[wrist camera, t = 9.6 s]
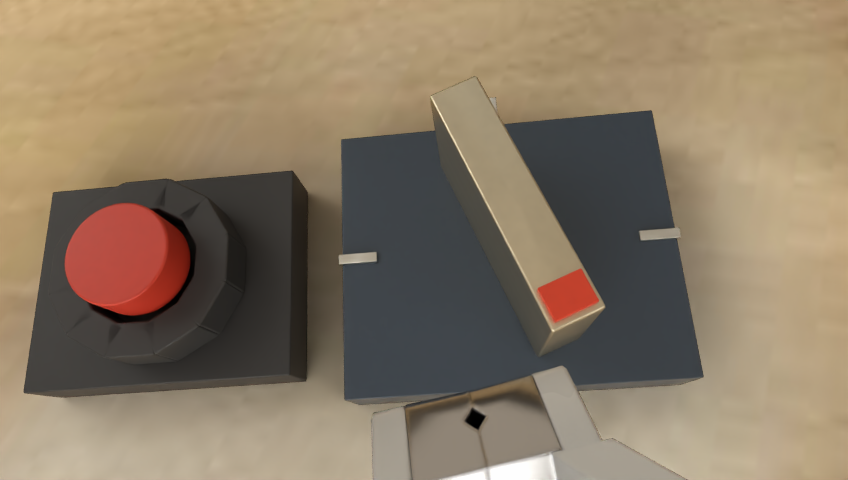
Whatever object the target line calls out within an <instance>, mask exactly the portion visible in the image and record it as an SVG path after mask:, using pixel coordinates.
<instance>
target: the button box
mask: <svg viewBox="0 0 848 480" xmlns="http://www.w3.org/2000/svg"><path fill="white" fill-rule="evenodd" d="M119 203H135V204H139V205H143V206H145V207H147V208H149V209H151V210H152V211H154V212H155V213H157V214H158V215H160V216H161V217H162V218H164V219H165V220H167V221H168V222H169V223H171V224H172V225H174V226H175V227H176V228H177V229H179V231H180V232H181V233H182V234H183V235H184V237H185V239H186V241H187V243H188V246H189V249H190V269H189V273H188V276H187V279H186V281H185V283H184V285H183V287H182V288H181V290H180V291H179V293H178V294H177V295H176V296H175V297H174V298H173V299H172V300H171V301H170V302H169V303H168V304H166V305H165V306H163V307H162V308H160V309H158V310H156V311H154V312H151V313H148V314H144V315H138V316H129V315H123V314H119V313H116V312H113V311H111V310H108V309H105V308H102V307H100V306H97V305H94V304H91V303H89V302H87V301H85V300H84V299H82V298H81V297H79V296H78V295H77V294H76V293H75V291H74V290H73V289H72V287H71V285H70V284H69V282H68V279H67V276H66V272H65V255H66V250H67V247H68V244H69V242H70V240H71V238H72V236H73V234H74V233H75V231H76V230H77V228H78V227H79V226H80V225H81V224H82V223H83V221H84V220H86V219H87V218H88V217H89V216H90V215H92V214H93V213H95V212H96V211H98V210H100V209H102V208H104V207H107V206H110V205H113V204H119ZM307 217H308V192H307V190H306V189H305V187H304V186H303V185H302V183H301V182H300V180H299V179H298V177H297V176H296V175H295V173H294V172H293V171H283V172H272V173H261V174H250V175H239V176H228V177H217V178H206V179H195V180H184V181H174V180H171V179H159V180H148V181H137V182H126V183H122V184H121V185H119V186H118V187H107V188H96V189H85V190H74V191H63V192H54V193H53V197H52V204H51V210H50V217H49V224H48V230H47V237H46V244H45V251H44V257H43V264H42V271H41V277H40V284H39V291H38V298H37V304H36V311H35V318H34V325H33V331H32V338H31V345H30V351H29V358H28V365H27V372H26V378H25V385H24V393H27V394H36V395H44V396H53V397H77V396H92V395H108V394H123V393H138V392H153V391H168V390H183V389H199V388H214V387H229V386H244V385H259V384H275V383H290V382H305V381H306V371H307Z"/></svg>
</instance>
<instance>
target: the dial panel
mask: <svg viewBox="0 0 848 480" xmlns="http://www.w3.org/2000/svg"><path fill="white" fill-rule="evenodd" d="M489 99H490V101H491V102H492V104H493V106H494V108H495V110H496V111H497V104H496V97H495V98H489ZM504 126H505V127H506V129H507V131H508V133H509V135H510V136H511V138H512V140H513V142H514V144H515V145H516V147H517V149H518V151H519V152H520V154H521V156H522V158H523V160H524V161H525V163H526V165H527V167H528V168H529V170H530V172H531V174H532V176H533V177H534V179H535V181H536V183H537V185H538V186H539V188H540V190H541V192H542V193H543V195H544V197H545V199H546V201H547V202H548V204H549V206H550V208H551V210H552V211H553V213H554V215H555V217H556V218H557V220H558V222H559V224H560V226H561V227H562V229H563V231H564V233H565V235H566V236H567V238H568V240H569V242H570V243H571V245H572V247H573V249H574V251H575V252H576V254H577V256H578V258H579V259H580V261H581V263H582V265H583V267H584V268H585V270H586V272H587V274H588V276H589V277H590V279H591V281H592V283H593V284H594V286H595V288H596V290H597V292H598V293H599V295H600V297H601V299H602V301H603V302H604V304H605V309H604V310H603V311H602V312H601V313H600V314H599V316H598V317H597V318H596V319H595V320H594V321H593V323H592V324H591V325H590V326H589V327H588V328H587V329H586V331H585V332H584V333H583V334H582V335H581V336H580V338H579V339H577V340H575V341H573V342H571V343H569V344H567V345H564V346H562V347H560V348H558V349H556V350H554V351H552V352H549V353H547V354H545V355H543V356H541V357H538V356H537V355H536V353H535V351H534V349H533V347H532V345H531V343H530V341H529V340H528V338H527V336H526V334H525V332H524V330H523V328H522V326H521V324H520V322H519V320H518V318H517V316H516V314H515V312H514V310H513V308H512V306H511V304H510V302H509V300H508V298H507V296H506V294H505V292H504V290H503V288H502V286H501V284H500V282H499V280H498V278H497V276H496V274H495V272H494V270H493V268H492V266H491V264H490V262H489V260H488V258H487V256H486V254H485V252H484V250H483V248H482V247H481V245H480V243H479V241H478V239H477V237H476V235H475V233H474V231H473V229H472V227H471V225H470V223H469V221H468V219H467V217H466V215H465V213H464V211H463V209H462V207H461V205H460V203H459V201H458V199H457V197H456V195H455V193H454V191H453V189H452V187H451V185H450V183H449V181H448V179H447V177H446V175H445V173H444V171H443V169H442V167H441V163H440V157H439V151H438V145H437V138H436V132H435V131H427V132H416V133H405V134H395V135H384V136H373V137H363V138H352V139H342V140H341V163H342V242H343V255H339V265H343V322H344V399H345V400H346V401H349V402H352V403H355V404H358V405H364V404H380V403H396V402H412V401H426V400H430V399H434V398H439V397H443V396H448V395H452V394H456V393H461V392H465V391H470V390H474V389H478V388H482V387H486V386H490V385H493V384H497V383H501V382H505V381H509V380H513V379H517V378H521V377H525V376H528V375H531V374H533V373H537V372H540V371H544V370H548V369H551V368H555V367H559V366H564V367H565V368H566V369H567V370H568V372H569V374H570V376H571V378H572V380H573V382H574V384H575V386H576V388H577V390H578V391H588V390H603V389H619V388H635V387H651V386H667V385H681V384H684V383H687V382H691V381H694V380H697V379H700V378H703V371H702V366H701V361H700V356H699V351H698V345H697V340H696V335H695V330H694V325H693V320H692V315H691V310H690V304H689V299H688V294H687V289H686V284H685V279H684V274H683V268H682V263H681V258H680V253H679V248H678V243H677V239H678V238H681V233H680V228H675V227H674V222H673V217H672V212H671V207H670V202H669V197H668V191H667V186H666V181H665V176H664V171H663V166H662V161H661V155H660V150H659V145H658V140H657V135H656V130H655V125H654V119H653V114H652V111H651V110H650V111H639V112H629V113H618V114H607V115H597V116H586V117H575V118H565V119H554V120H544V121H533V122H522V123H512V124H504Z"/></svg>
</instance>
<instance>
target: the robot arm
mask: <svg viewBox="0 0 848 480" xmlns="http://www.w3.org/2000/svg"><path fill="white" fill-rule="evenodd" d="M371 432H372V468H373V480H687V479H685V478H684V477H682V476H680V475H678V474H676V473H675V472H673V471H671V470H669V469H667V468H666V467H664V466H662V465H660V464H658V463H657V462H655V461H653V460H651V459H649V458H648V457H646V456H644V455H642V454H640V453H639V452H637V451H635V450H633V449H631V448H629V447H628V446H626V445H624V444H622V443H620V442H619V441H617V440H615V439H613V438H612V439H608V440H602V438H601V436H600V434H599V432H598V430H597V428H596V426H595V424H594V422H593V420H592V418H591V416H590V414H589V412H588V410H587V408H586V406H585V404H584V402H583V400H582V398H581V396H580V394H579V392H578V390H577V388H576V386H575V384H574V382H573V380H572V378H571V376H570V374H569V372H568V370H567V369H566V368H565V367H564V366H559V367H555V368H551V369H548V370H544V371H540V372H537V373H533V374H531V375H528V376H525V377H521V378H517V379H513V380H509V381H505V382H501V383H497V384H493V385H490V386H486V387H482V388H478V389H474V390H470V391H465V392H461V393H456V394H452V395H448V396H443V397H439V398H434V399H430V400H426V401H421V402H417V403H412V404H408V405H406V406H401V407H397V408H393V409H388V410H384V411H380V412H375V413H373V416H372V419H371Z"/></svg>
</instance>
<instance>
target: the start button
mask: <svg viewBox="0 0 848 480" xmlns="http://www.w3.org/2000/svg"><path fill="white" fill-rule="evenodd" d="M189 269H190V249H189V246H188V243H187V241H186V239H185V237H184V235H183V234H182V233H181V232H180V231H179V229H177V228H176V227H175V226H174V225H172V224H171V223H169V222H168V221H167V220H165V219H164V218H162V217H161V216H160V215H158V214H157V213H155V212H154V211H152V210H151V209H149V208H147V207H145V206H143V205H139V204H135V203H119V204H113V205H110V206H107V207H104V208H102V209H100V210H98V211H96V212H95V213H93V214H92V215H90V216H89V217H88V218H87V219H86V220H84V221H83V223H82V224H81V225H80V226H79V227H78V228H77V230H76V231H75V233H74V234H73V236H72V238H71V240H70V242H69V244H68V247H67V250H66V255H65V272H66V276H67V279H68V282H69V284H70V285H71V287H72V289H73V290H74V291H75V293H76V294H77V295H78V296H79V297H81V298H82V299H84V300H85V301H87V302H89V303H91V304H94V305H97V306H100V307H102V308H105V309H108V310H111V311H113V312H116V313H119V314H123V315H129V316H138V315H144V314H148V313H151V312H154V311H156V310H158V309H160V308H162V307H163V306H165V305H166V304H168V303H169V302H170V301H171V300H172V299H173V298H174V297H175V296H176V295H177V294H178V293H179V291H180V290H181V288H182V287H183V285H184V283H185V281H186V279H187V276H188V273H189Z"/></svg>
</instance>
